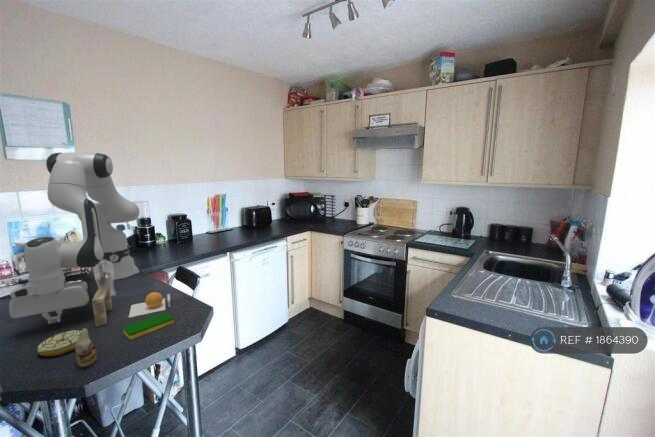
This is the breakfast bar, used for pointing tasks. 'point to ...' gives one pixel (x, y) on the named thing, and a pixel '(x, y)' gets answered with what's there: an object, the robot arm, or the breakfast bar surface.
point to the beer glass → (105, 275)
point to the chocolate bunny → (85, 350)
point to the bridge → (101, 305)
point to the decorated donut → (59, 343)
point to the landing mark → (145, 309)
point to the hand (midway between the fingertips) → (54, 322)
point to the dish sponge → (148, 325)
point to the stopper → (169, 300)
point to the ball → (153, 299)
